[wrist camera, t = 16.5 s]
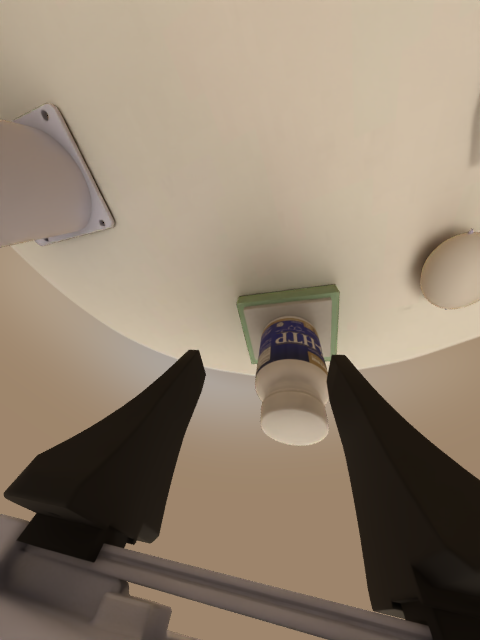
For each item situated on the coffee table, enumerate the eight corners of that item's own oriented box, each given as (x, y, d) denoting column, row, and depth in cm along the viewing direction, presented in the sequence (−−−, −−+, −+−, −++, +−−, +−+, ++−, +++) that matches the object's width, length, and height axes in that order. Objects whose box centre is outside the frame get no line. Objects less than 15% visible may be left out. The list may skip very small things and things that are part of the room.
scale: (253, 354, 24) (250, 368, 22) (238, 296, 20) (234, 306, 18) (332, 350, 22) (337, 365, 20) (335, 283, 18) (341, 294, 16)
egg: (403, 301, 17) (431, 326, 14) (417, 230, 14) (456, 242, 11) (457, 295, 16) (500, 320, 13) (485, 216, 13) (548, 225, 10)
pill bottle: (328, 324, 17) (363, 420, 10) (303, 362, 20) (316, 459, 13) (271, 306, 17) (265, 391, 10) (254, 348, 20) (241, 436, 13)
